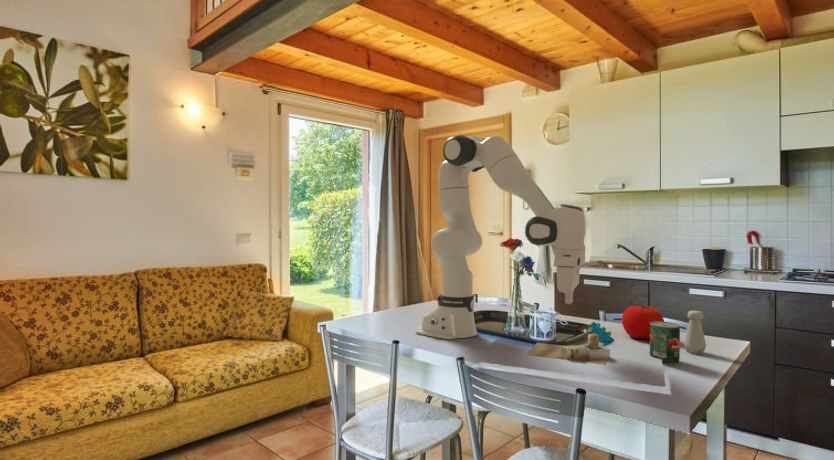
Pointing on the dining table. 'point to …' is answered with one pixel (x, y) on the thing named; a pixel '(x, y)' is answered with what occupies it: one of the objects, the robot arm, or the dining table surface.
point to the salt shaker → (695, 333)
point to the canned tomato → (665, 342)
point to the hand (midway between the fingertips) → (568, 303)
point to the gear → (601, 333)
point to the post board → (555, 351)
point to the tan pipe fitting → (585, 352)
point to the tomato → (640, 320)
